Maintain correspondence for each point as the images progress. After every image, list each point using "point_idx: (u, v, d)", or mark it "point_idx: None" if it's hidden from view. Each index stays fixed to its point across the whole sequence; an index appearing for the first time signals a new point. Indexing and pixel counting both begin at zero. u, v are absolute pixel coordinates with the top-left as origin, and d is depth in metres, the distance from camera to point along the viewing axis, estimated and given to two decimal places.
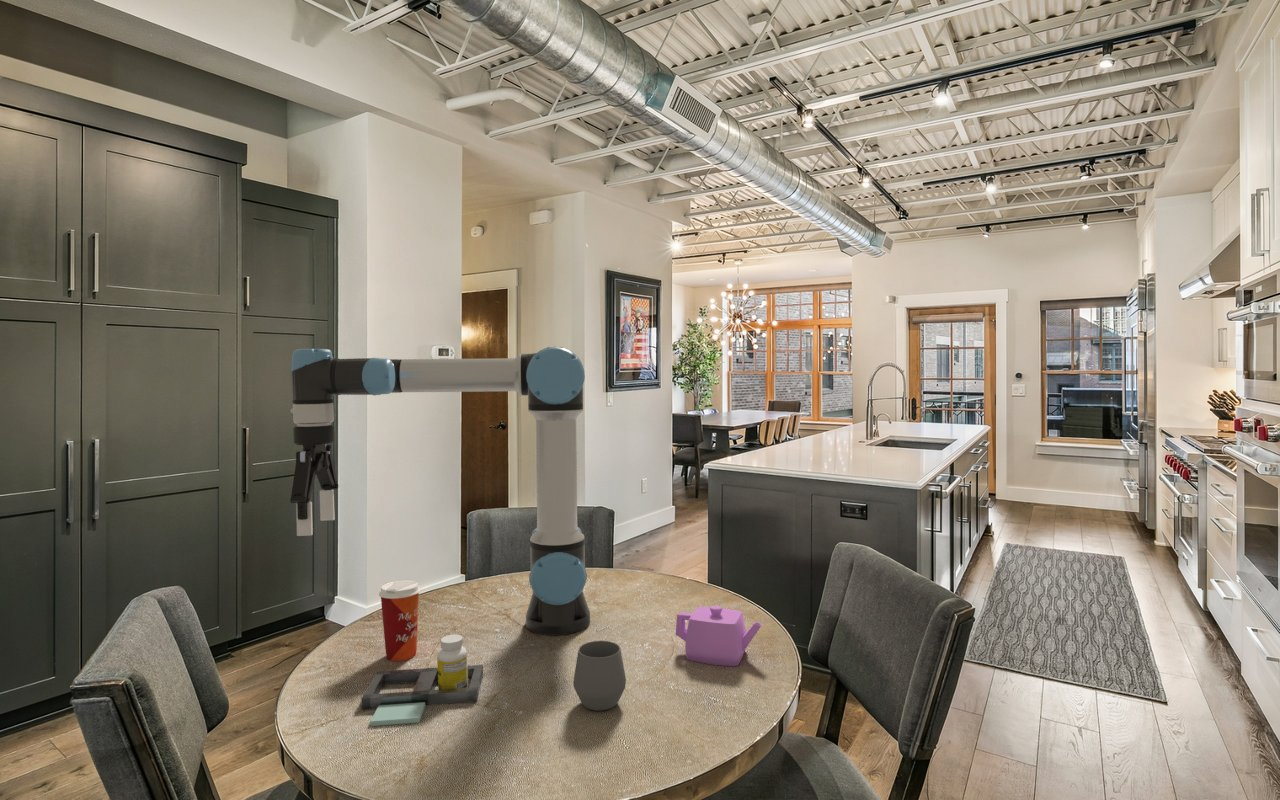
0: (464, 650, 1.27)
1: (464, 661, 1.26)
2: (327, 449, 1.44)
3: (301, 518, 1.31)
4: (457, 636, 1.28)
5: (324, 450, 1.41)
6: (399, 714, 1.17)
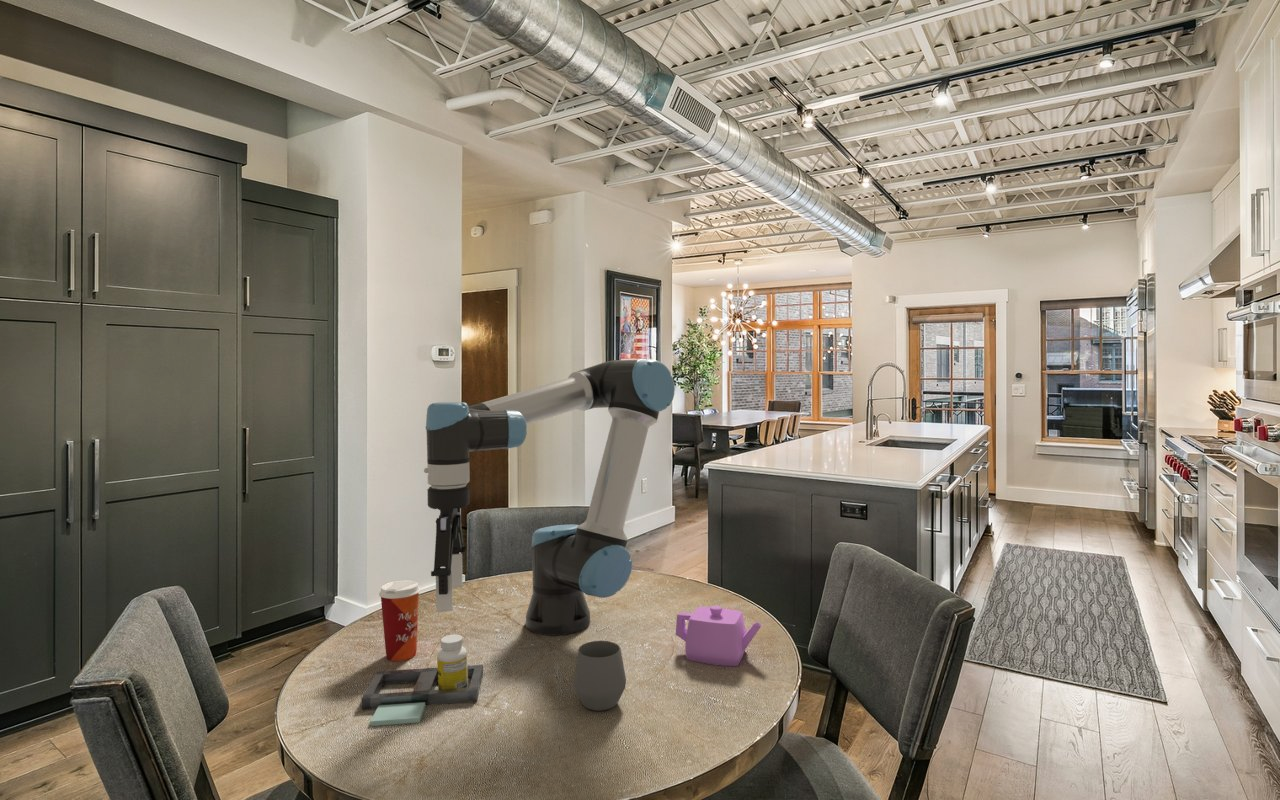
0: (464, 650, 1.27)
1: (464, 661, 1.26)
2: (457, 510, 1.32)
3: (442, 593, 1.18)
4: (457, 636, 1.28)
5: (457, 512, 1.29)
6: (399, 714, 1.17)
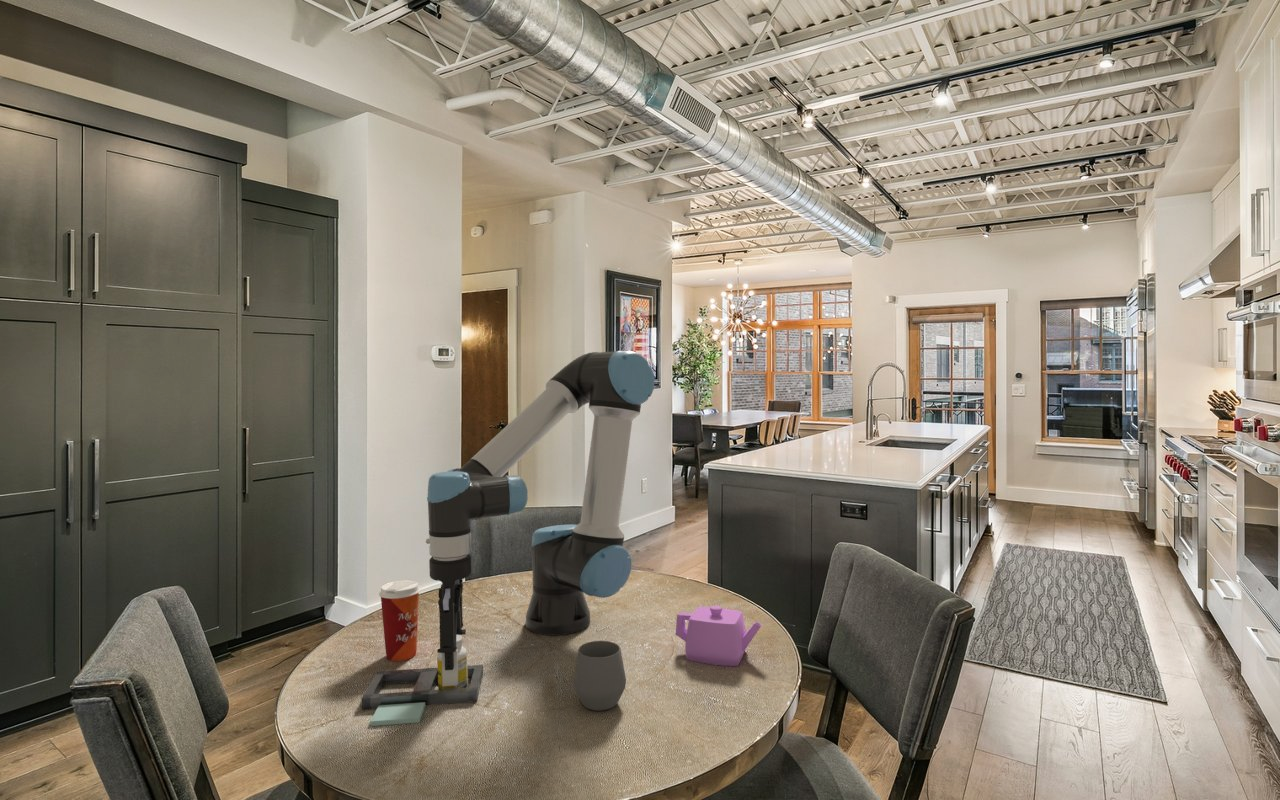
0: (464, 650, 1.27)
1: (464, 661, 1.26)
2: (459, 582, 1.32)
3: (448, 669, 1.23)
4: (457, 636, 1.28)
5: (458, 579, 1.29)
6: (399, 714, 1.17)
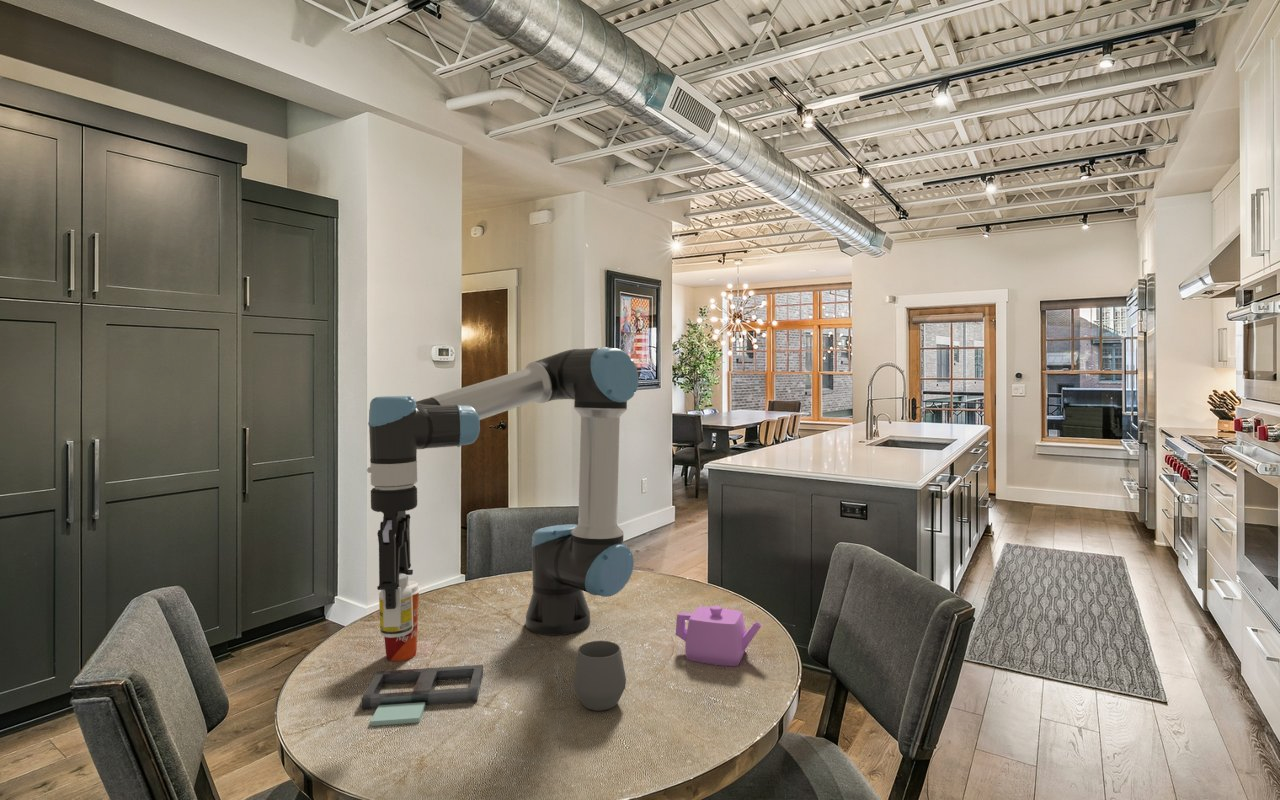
0: (409, 589, 1.17)
1: (408, 601, 1.16)
2: None
3: (389, 607, 1.13)
4: (401, 575, 1.18)
5: (404, 514, 1.19)
6: (399, 714, 1.17)
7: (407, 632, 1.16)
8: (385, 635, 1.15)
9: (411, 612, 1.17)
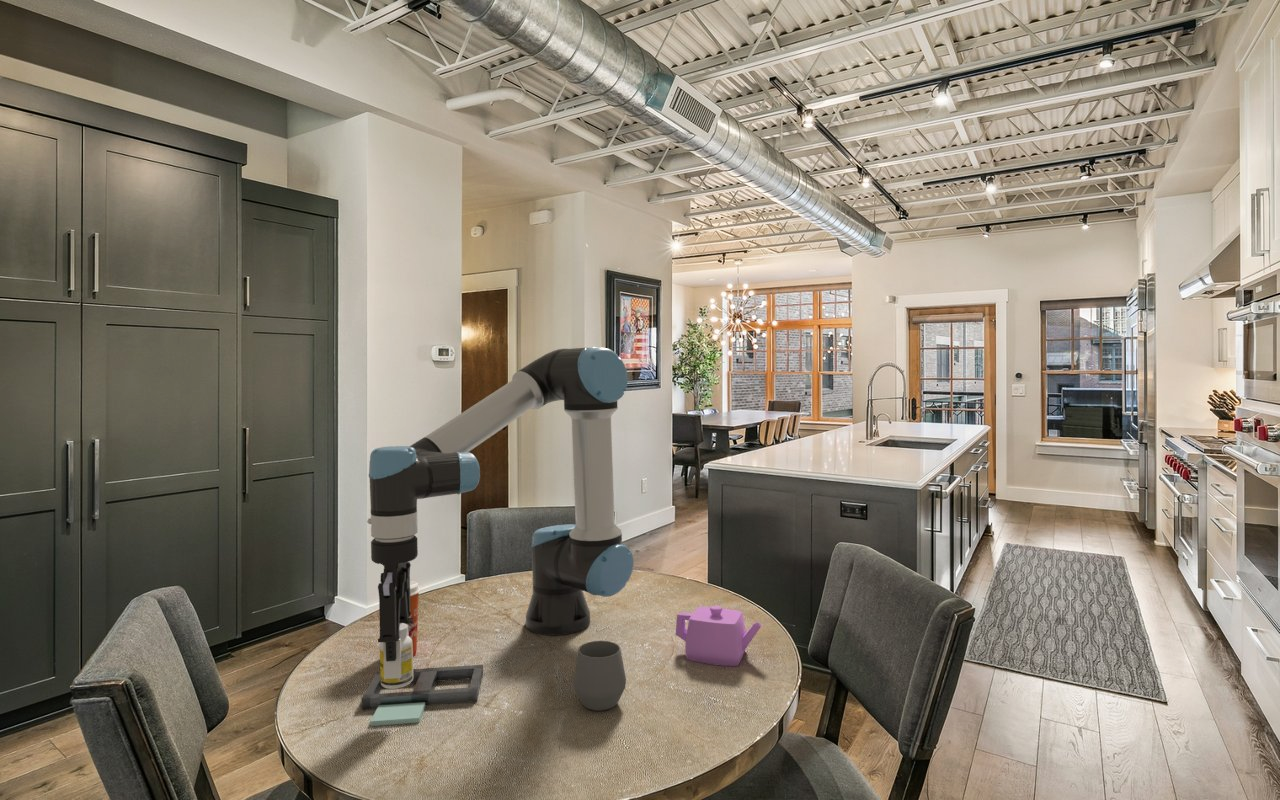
0: (409, 640, 1.17)
1: (408, 651, 1.16)
2: (406, 567, 1.22)
3: (390, 660, 1.13)
4: (401, 625, 1.18)
5: (404, 563, 1.19)
6: (399, 714, 1.17)
7: (407, 683, 1.16)
8: (385, 686, 1.15)
9: (411, 662, 1.17)
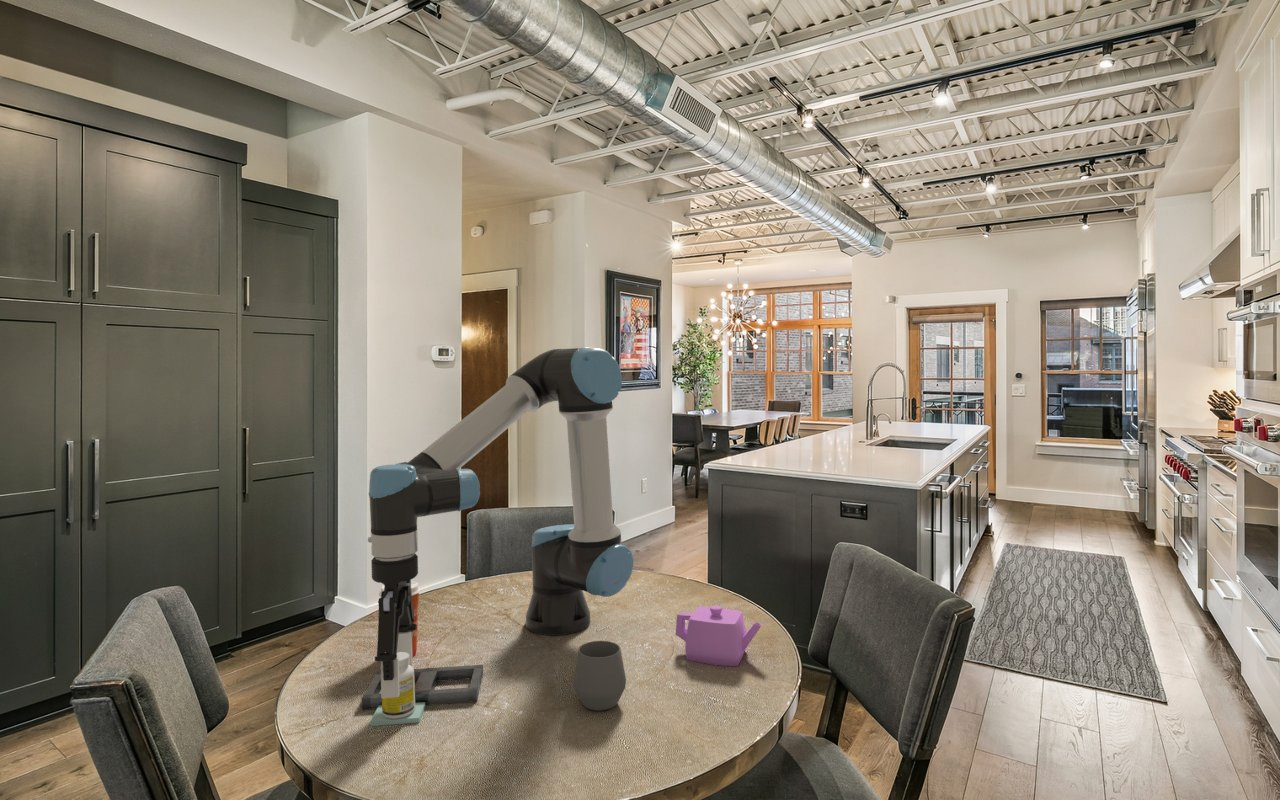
0: (411, 669, 1.17)
1: (410, 681, 1.16)
2: (406, 580, 1.22)
3: (387, 679, 1.10)
4: (403, 654, 1.18)
5: (405, 582, 1.20)
6: None
7: (409, 713, 1.16)
8: (387, 716, 1.15)
9: (413, 692, 1.17)
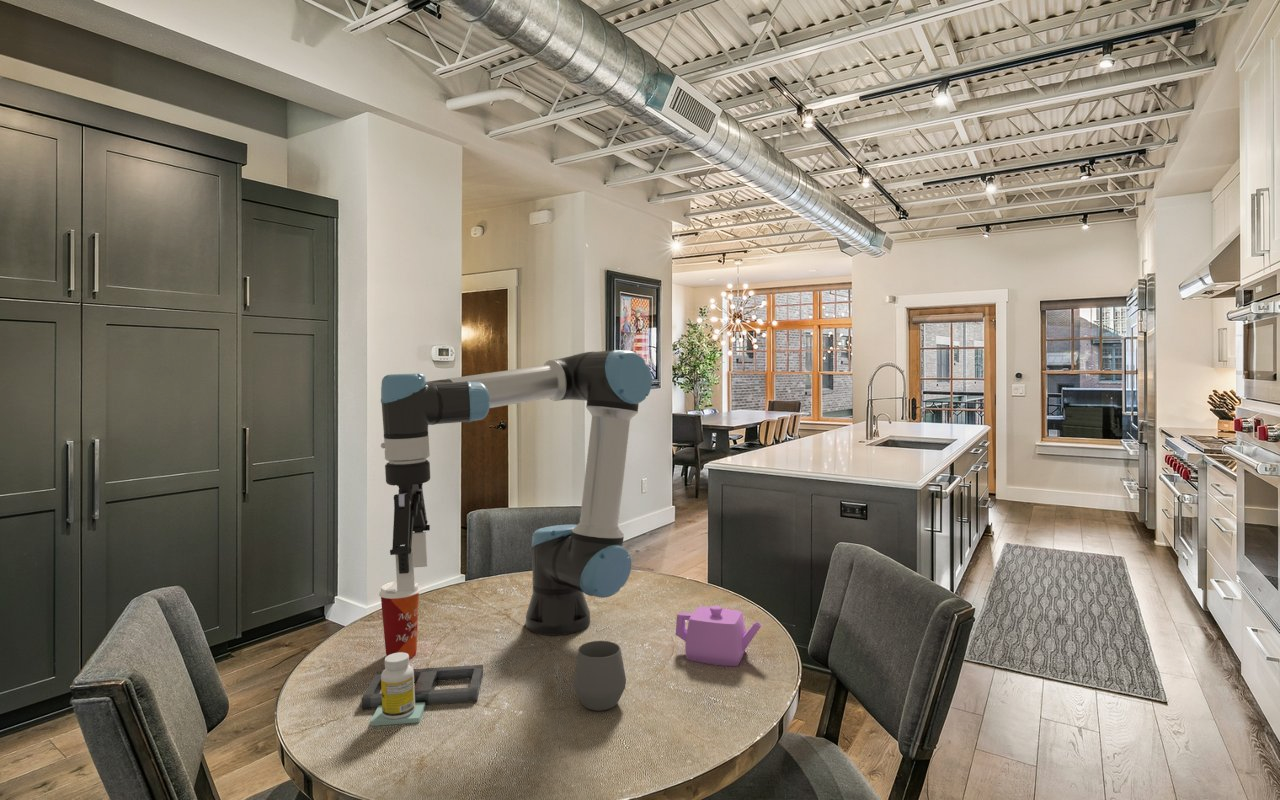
0: (410, 670, 1.17)
1: (409, 682, 1.16)
2: (418, 486, 1.26)
3: (403, 572, 1.13)
4: (403, 655, 1.18)
5: (417, 489, 1.23)
6: None
7: (409, 713, 1.16)
8: (387, 717, 1.15)
9: (413, 692, 1.17)
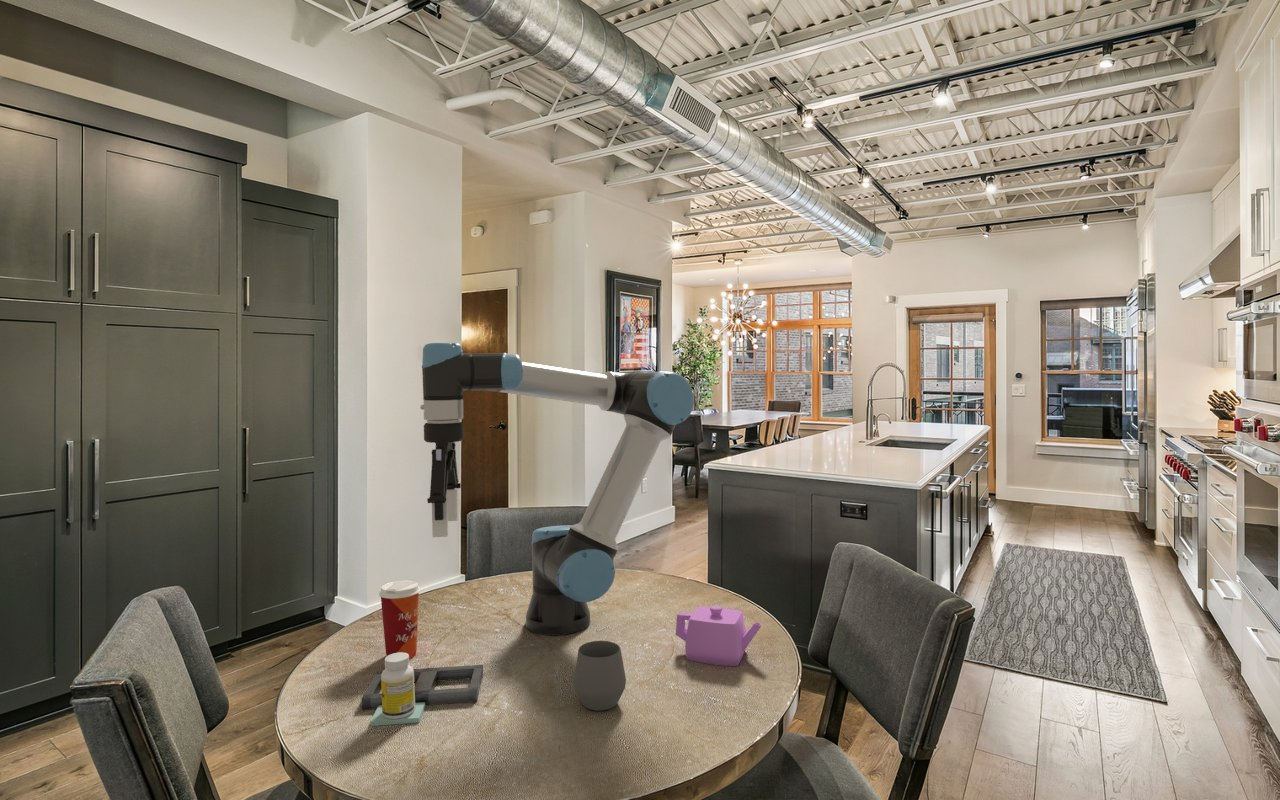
0: (410, 670, 1.17)
1: (409, 682, 1.16)
2: (452, 447, 1.39)
3: (438, 519, 1.26)
4: (403, 655, 1.18)
5: (451, 448, 1.36)
6: None
7: (409, 713, 1.16)
8: (387, 717, 1.15)
9: (413, 692, 1.17)
